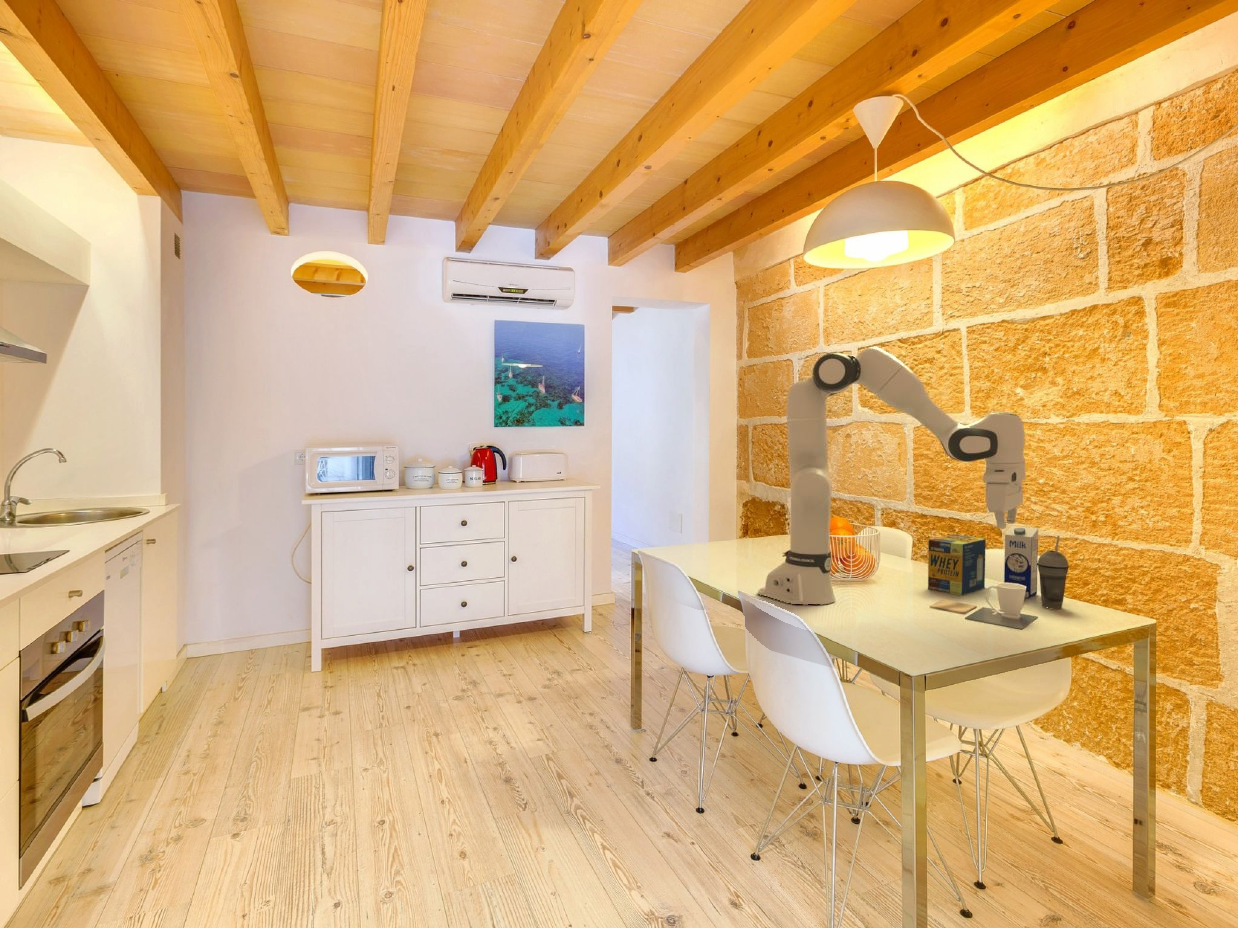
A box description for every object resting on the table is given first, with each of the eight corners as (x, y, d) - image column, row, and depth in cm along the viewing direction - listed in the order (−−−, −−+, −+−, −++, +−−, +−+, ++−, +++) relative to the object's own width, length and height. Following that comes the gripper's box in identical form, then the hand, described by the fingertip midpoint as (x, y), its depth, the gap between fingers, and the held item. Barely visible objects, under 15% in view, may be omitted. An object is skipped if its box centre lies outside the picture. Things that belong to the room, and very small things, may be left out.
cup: (1017, 621, 164) (1018, 590, 163) (978, 612, 172) (979, 582, 172) (1032, 617, 167) (1032, 586, 167) (993, 608, 176) (993, 578, 175)
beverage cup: (1042, 601, 182) (1044, 532, 181) (1072, 607, 177) (1074, 535, 176) (1031, 606, 178) (1033, 534, 177) (1061, 612, 172) (1063, 538, 171)
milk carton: (1037, 594, 190) (1039, 527, 189) (1030, 598, 186) (1031, 530, 185) (1010, 590, 196) (1011, 525, 195) (1003, 594, 191) (1004, 527, 190)
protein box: (927, 589, 199) (927, 539, 198) (951, 581, 208) (952, 534, 207) (961, 596, 190) (962, 544, 189) (985, 587, 199) (986, 538, 199)
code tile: (964, 618, 168) (964, 617, 168) (983, 608, 177) (983, 606, 177) (1021, 629, 158) (1021, 628, 158) (1037, 617, 168) (1037, 616, 168)
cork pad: (929, 607, 178) (929, 605, 178) (942, 601, 184) (942, 599, 184) (964, 614, 172) (964, 612, 172) (976, 607, 178) (976, 605, 178)
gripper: (1002, 470, 178) (1003, 520, 179) (980, 476, 164) (981, 530, 164) (1029, 470, 174) (1030, 521, 174) (1008, 476, 159) (1009, 532, 160)
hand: (1006, 525), depth 169 cm, fingers open, 8 cm apart
